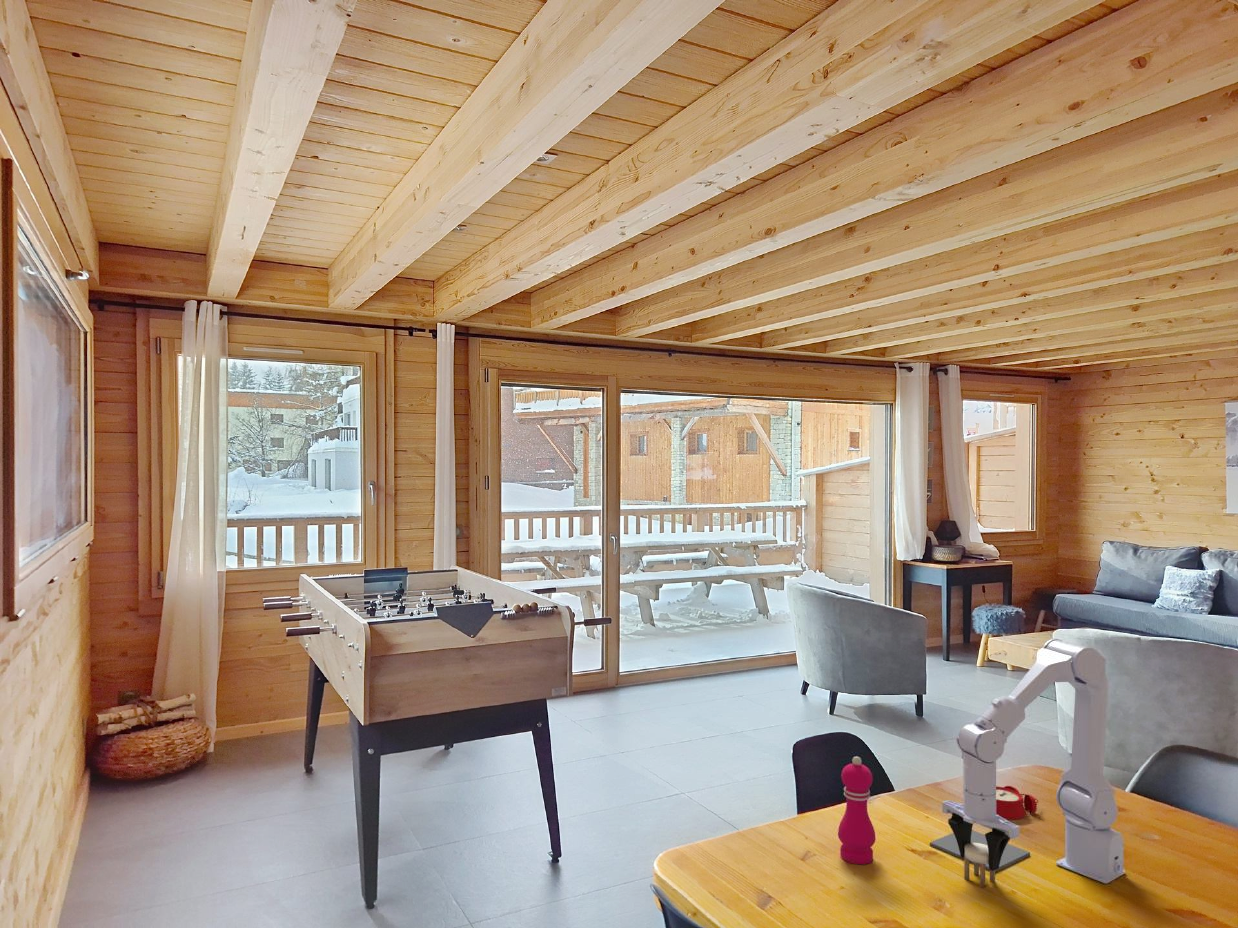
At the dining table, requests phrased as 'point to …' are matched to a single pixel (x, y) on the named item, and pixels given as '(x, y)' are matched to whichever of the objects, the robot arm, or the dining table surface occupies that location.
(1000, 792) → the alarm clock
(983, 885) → the stool
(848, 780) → the pepper mill
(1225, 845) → the dining table surface
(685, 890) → the dining table surface
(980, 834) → the mat
